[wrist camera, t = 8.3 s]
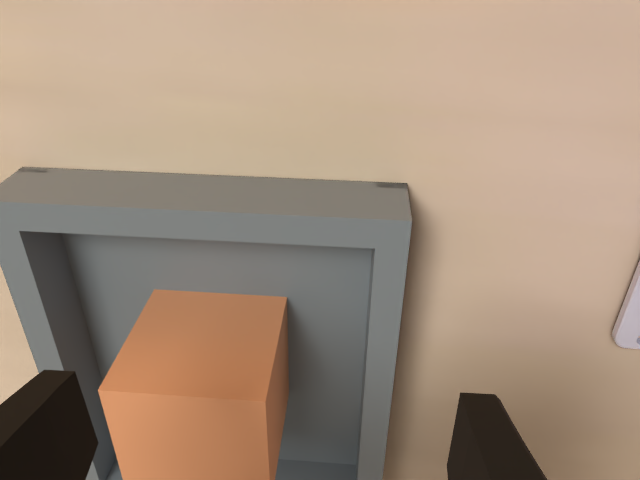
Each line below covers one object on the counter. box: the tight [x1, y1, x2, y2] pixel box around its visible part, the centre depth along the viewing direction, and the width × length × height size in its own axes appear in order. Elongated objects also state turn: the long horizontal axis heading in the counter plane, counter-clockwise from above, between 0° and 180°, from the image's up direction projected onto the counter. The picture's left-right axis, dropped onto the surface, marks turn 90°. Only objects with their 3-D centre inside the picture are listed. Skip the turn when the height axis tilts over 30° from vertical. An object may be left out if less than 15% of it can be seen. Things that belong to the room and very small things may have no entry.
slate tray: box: [0, 167, 412, 480], centre depth 21 cm, size 13×15×2 cm
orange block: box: [98, 289, 289, 480], centre depth 19 cm, size 5×5×5 cm
